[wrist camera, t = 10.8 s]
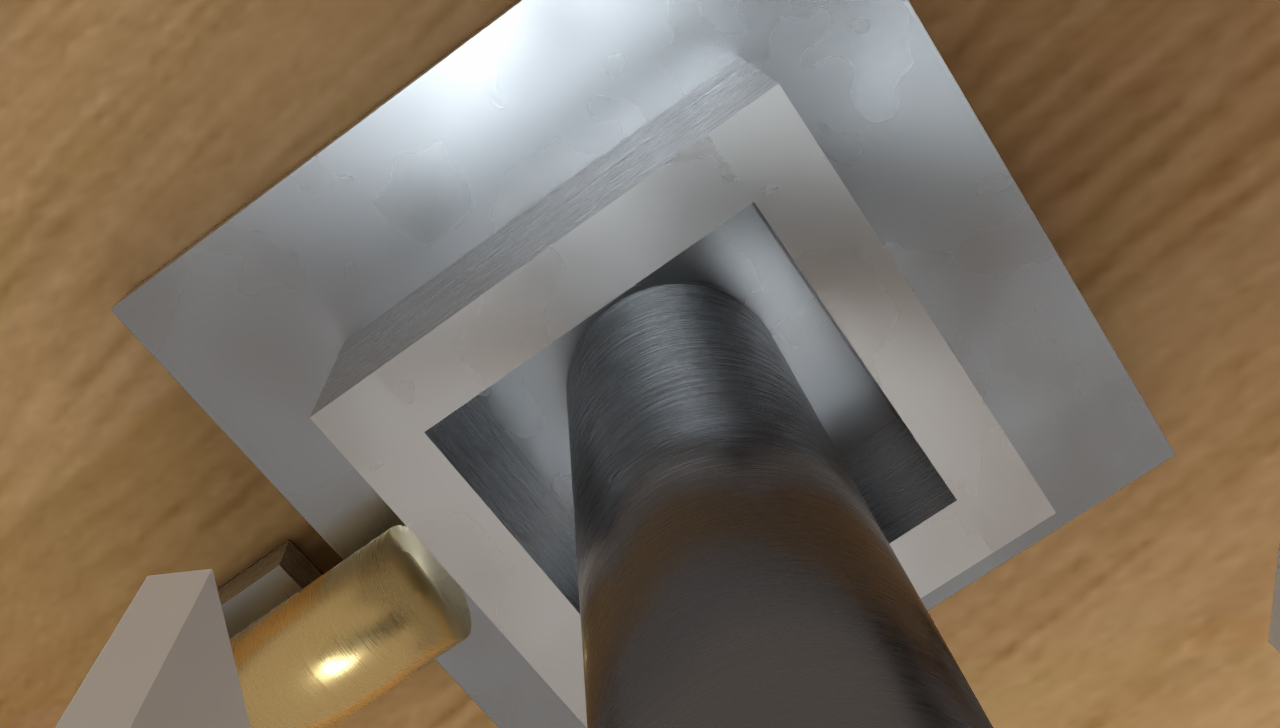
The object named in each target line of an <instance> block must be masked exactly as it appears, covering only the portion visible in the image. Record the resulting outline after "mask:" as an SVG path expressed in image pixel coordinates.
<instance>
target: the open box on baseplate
mask: <svg viewBox="0 0 1280 728" xmlns="http://www.w3.org/2000/svg"><path fill="white" fill-rule="evenodd" d="M668 284H689V285H699V286H703V287H708V288H712V289H715V290H717V291H720V292H723V293H725V294H727V295H729V296H731V297H733V298H735V299H737V300H738V301H740V302H741V303H743V304H744V305H746V306H747V307H748V308H750V309H751V310H752V311H753V312H754V313H755V314H756V315H757V316H758V317H759V318H760V319H761V321H762V322H763V323H764V324H765V326H766V327H767V328H768V330H769V331H770V333H771V335H772V336H773V338H774V340H775V342H776V343H777V345H778V347H779V349H780V350H781V352H782V354H783V356H784V358H785V359H786V361H787V363H788V365H789V366H790V368H791V370H792V372H793V374H794V375H795V377H796V379H797V381H798V382H799V384H800V386H801V388H802V390H803V391H804V393H805V395H806V397H807V398H808V400H809V402H810V404H811V405H812V407H813V409H814V411H815V413H816V414H817V416H818V418H819V420H820V421H821V423H822V425H823V427H824V429H825V430H826V432H827V434H828V436H829V437H830V439H831V441H832V443H833V445H834V446H835V448H836V450H837V452H838V453H839V455H840V457H841V459H842V461H843V462H844V464H845V466H846V468H847V469H848V471H849V473H850V475H851V476H852V478H853V480H854V482H855V484H856V485H857V487H858V489H859V491H860V492H861V494H862V496H863V498H864V500H865V501H866V503H867V505H868V507H869V508H870V510H871V512H872V514H873V516H874V517H875V519H876V521H877V523H878V524H879V526H880V528H881V530H882V531H883V533H884V535H885V537H886V539H887V540H888V542H889V544H890V546H891V547H892V549H893V551H894V553H895V555H896V556H897V558H898V560H899V562H900V563H901V565H902V567H903V569H904V571H905V572H906V574H907V576H908V578H909V579H910V581H911V583H912V585H913V586H914V588H915V590H916V592H917V594H918V595H919V597H920V599H921V601H922V602H923V604H924V606H925V608H926V610H927V611H928V610H929V609H931V608H932V607H934V606H936V605H937V604H939V603H940V602H942V601H944V600H945V599H947V598H948V597H950V596H951V595H953V594H955V593H956V592H958V591H959V590H961V589H963V588H964V587H966V586H967V585H969V584H971V583H972V582H974V581H975V580H977V579H979V578H980V577H982V576H983V575H985V574H986V573H988V572H990V571H991V570H993V569H994V568H996V567H998V566H999V565H1001V564H1002V563H1004V562H1006V561H1007V560H1009V559H1010V558H1012V557H1013V556H1015V555H1017V554H1018V553H1020V552H1021V551H1023V550H1025V549H1026V548H1028V547H1029V546H1031V545H1033V544H1034V543H1036V542H1037V541H1039V540H1040V539H1042V538H1044V537H1045V536H1047V535H1048V534H1050V533H1052V532H1053V531H1055V530H1056V529H1058V528H1060V527H1061V526H1063V525H1064V524H1066V523H1068V522H1069V521H1071V520H1072V519H1074V518H1075V517H1077V516H1079V515H1080V514H1082V513H1083V512H1085V511H1087V510H1088V509H1090V508H1091V507H1093V506H1095V505H1096V504H1098V503H1099V502H1101V501H1102V500H1104V499H1106V498H1107V497H1109V496H1110V495H1112V494H1114V493H1115V492H1117V491H1118V490H1120V489H1122V488H1123V487H1125V486H1126V485H1128V484H1129V483H1131V482H1133V481H1134V480H1136V479H1137V478H1139V477H1141V476H1142V475H1144V474H1145V473H1147V472H1149V471H1150V470H1152V469H1153V468H1155V467H1157V466H1158V465H1160V464H1161V463H1163V462H1164V461H1166V460H1168V459H1169V458H1171V457H1172V456H1174V455H1175V453H1174V451H1173V449H1172V448H1171V446H1170V444H1169V443H1168V441H1167V439H1166V438H1165V436H1164V434H1163V432H1162V431H1161V429H1160V427H1159V426H1158V424H1157V422H1156V421H1155V419H1154V417H1153V416H1152V414H1151V412H1150V410H1149V409H1148V407H1147V405H1146V404H1145V402H1144V400H1143V399H1142V397H1141V395H1140V393H1139V392H1138V390H1137V388H1136V387H1135V385H1134V383H1133V382H1132V380H1131V378H1130V376H1129V375H1128V373H1127V371H1126V370H1125V368H1124V366H1123V365H1122V363H1121V361H1120V359H1119V358H1118V356H1117V354H1116V353H1115V351H1114V349H1113V348H1112V346H1111V344H1110V342H1109V341H1108V339H1107V337H1106V336H1105V334H1104V332H1103V331H1102V329H1101V327H1100V325H1099V324H1098V322H1097V320H1096V319H1095V317H1094V315H1093V314H1092V312H1091V310H1090V308H1089V307H1088V305H1087V303H1086V302H1085V300H1084V298H1083V297H1082V295H1081V293H1080V291H1079V290H1078V288H1077V286H1076V285H1075V283H1074V281H1073V280H1072V278H1071V276H1070V274H1069V273H1068V271H1067V269H1066V268H1065V266H1064V264H1063V263H1062V261H1061V259H1060V257H1059V256H1058V254H1057V252H1056V251H1055V249H1054V247H1053V246H1052V244H1051V242H1050V240H1049V239H1048V237H1047V235H1046V234H1045V232H1044V230H1043V229H1042V227H1041V225H1040V223H1039V222H1038V220H1037V218H1036V217H1035V215H1034V213H1033V212H1032V210H1031V208H1030V206H1029V205H1028V203H1027V201H1026V200H1025V198H1024V196H1023V195H1022V193H1021V191H1020V190H1019V188H1018V186H1017V184H1016V183H1015V181H1014V179H1013V178H1012V176H1011V174H1010V173H1009V171H1008V169H1007V167H1006V166H1005V164H1004V162H1003V161H1002V159H1001V157H1000V156H999V154H998V152H997V150H996V149H995V147H994V145H993V144H992V142H991V140H990V139H989V137H988V135H987V133H986V132H985V130H984V128H983V127H982V125H981V123H980V122H979V120H978V118H977V116H976V115H975V113H974V111H973V110H972V108H971V106H970V105H969V103H968V101H967V99H966V98H965V96H964V94H963V93H962V91H961V89H960V88H959V86H958V84H957V82H956V81H955V79H954V77H953V76H952V74H951V72H950V71H949V69H948V67H947V65H946V64H945V62H944V60H943V59H942V57H941V55H940V54H939V52H938V50H937V48H936V47H935V45H934V43H933V42H932V40H931V38H930V37H929V35H928V33H927V31H926V30H925V28H924V26H923V25H922V23H921V21H920V20H919V18H918V16H917V14H916V13H915V11H914V9H913V8H912V6H911V4H910V3H909V1H908V0H518V1H517V2H515V3H514V4H513V5H511V6H510V7H509V8H507V9H506V10H505V11H503V12H502V13H501V14H499V15H498V16H497V17H495V18H494V19H493V20H491V21H490V22H489V23H487V24H486V25H485V26H483V27H482V28H481V29H479V30H478V31H477V32H475V33H474V34H473V35H471V36H470V37H469V38H467V39H466V40H465V41H463V42H462V43H461V44H459V45H458V46H457V47H455V48H454V49H453V50H451V51H450V52H449V53H447V54H446V55H445V56H443V57H442V58H441V59H439V60H438V61H437V62H435V63H434V64H433V65H431V66H430V67H429V68H427V69H426V70H425V71H423V72H422V73H421V74H419V75H418V76H417V77H415V78H414V79H413V80H411V81H410V82H409V83H407V84H406V85H405V86H403V87H402V88H401V89H399V90H398V91H397V92H395V93H394V94H393V95H391V96H390V97H389V98H387V99H386V100H385V101H383V102H382V103H381V104H379V105H378V106H377V107H375V108H374V109H373V110H371V111H370V112H369V113H367V114H366V115H365V116H363V117H362V118H361V119H359V120H358V121H357V122H355V123H354V124H353V125H351V126H350V127H349V128H347V129H346V130H345V131H343V132H342V133H341V134H339V135H338V136H337V137H335V138H334V139H333V140H331V141H330V142H329V143H327V144H326V145H325V146H323V147H322V148H321V149H319V150H318V151H317V152H315V153H314V154H313V155H311V156H310V157H309V158H307V159H306V160H305V161H303V162H302V163H301V164H299V165H298V166H297V167H295V168H294V169H293V170H291V171H290V172H289V173H287V174H286V175H285V176H283V177H282V178H281V179H279V180H278V181H277V182H275V183H274V184H273V185H271V186H270V187H269V188H267V189H266V190H265V191H263V192H262V193H261V194H259V195H258V196H257V197H255V198H254V199H253V200H251V201H250V202H249V203H247V204H246V205H245V206H243V207H242V208H241V209H239V210H238V211H237V212H235V213H234V214H233V215H231V216H230V217H229V218H227V219H226V220H225V221H223V222H222V223H221V224H219V225H218V226H217V227H215V228H214V229H213V230H211V231H210V232H209V233H207V234H206V235H205V236H203V237H202V238H201V239H199V240H198V241H197V242H195V243H194V244H193V245H191V246H190V247H189V248H187V249H186V250H185V251H183V252H182V253H181V254H179V255H178V256H177V257H175V258H174V259H173V260H171V261H170V262H169V263H167V264H166V265H165V266H163V267H162V268H161V269H159V270H158V271H157V272H155V273H154V274H153V275H151V276H150V277H149V278H147V279H146V280H145V281H143V282H142V283H141V284H139V285H138V286H137V287H135V288H134V289H133V290H131V291H130V292H129V293H128V294H127V295H125V296H124V297H123V298H122V299H121V300H120V301H119V302H118V303H117V304H116V305H115V306H113V307H112V308H111V309H110V310H111V311H112V312H113V313H114V314H115V315H116V316H117V317H118V318H119V319H120V320H121V321H122V323H123V324H124V325H125V326H126V327H127V328H128V329H129V330H130V331H131V332H132V333H133V334H134V335H135V337H136V338H137V339H138V340H139V341H140V342H141V343H142V344H143V345H144V346H145V347H146V348H147V349H148V351H149V352H150V353H151V354H152V355H153V356H154V357H155V358H156V359H157V360H158V361H159V362H160V363H161V365H162V366H163V367H164V368H165V369H166V370H167V371H168V372H169V373H170V374H171V375H172V376H173V377H174V379H175V380H176V381H177V382H178V383H179V384H180V385H181V386H182V387H183V388H184V389H185V390H186V391H187V393H188V394H189V395H190V396H191V397H192V398H193V399H194V400H195V401H196V402H197V403H198V404H199V405H200V407H201V408H202V409H203V410H204V411H205V412H206V413H207V414H208V415H209V416H210V417H211V418H212V419H213V421H214V422H215V423H216V424H217V425H218V426H219V427H220V428H221V429H222V430H223V431H224V432H225V433H226V435H227V436H228V437H229V438H230V439H231V440H232V441H233V442H234V443H235V444H236V445H237V446H238V447H239V448H240V450H241V451H242V452H243V453H244V454H245V455H246V456H247V457H248V458H249V459H250V460H251V461H252V462H253V464H254V465H255V466H256V467H257V468H258V469H259V470H260V471H261V472H262V473H263V474H264V475H265V476H266V478H267V479H268V480H269V481H270V482H271V483H272V484H273V485H274V486H275V487H276V488H277V489H278V490H279V492H280V493H281V494H282V495H283V496H284V497H285V498H286V499H287V500H288V501H289V502H290V503H291V504H292V506H293V507H294V508H295V509H296V510H297V511H298V512H299V513H300V514H301V515H302V516H303V517H304V518H305V520H306V521H307V522H308V523H309V524H310V525H311V526H312V527H313V528H314V529H315V530H316V531H317V532H318V534H319V535H320V536H321V537H322V538H323V539H324V540H325V541H326V542H327V543H328V544H329V545H330V546H331V548H332V549H333V550H334V551H335V552H336V553H337V554H338V555H339V556H340V557H341V558H342V559H343V561H342V562H340V563H339V564H338V565H336V566H335V567H333V568H332V569H330V570H329V571H327V572H326V573H324V574H323V575H322V574H321V573H320V572H319V570H318V569H317V568H316V567H315V566H314V565H313V564H312V563H311V562H310V561H309V560H308V559H307V558H306V557H305V556H304V555H303V553H302V552H301V551H300V550H299V549H298V548H297V547H296V546H295V545H294V544H293V543H292V542H291V541H290V540H288V541H287V542H285V543H284V544H282V545H281V546H280V547H278V548H277V549H275V550H274V551H272V552H271V553H270V554H268V555H267V556H265V557H264V558H262V559H261V560H260V561H258V562H257V563H255V564H254V565H252V566H251V567H249V568H248V569H247V570H245V571H244V572H242V573H241V574H239V575H238V576H237V577H235V578H234V579H232V580H231V581H229V582H228V583H227V584H225V585H224V586H222V587H221V588H219V589H218V594H219V598H220V603H221V607H222V611H223V615H224V619H225V623H226V627H227V631H228V636H229V640H230V644H231V648H232V652H233V656H234V660H235V665H236V669H237V673H238V677H239V681H240V685H241V689H242V694H243V698H244V702H245V706H246V710H247V714H248V718H249V722H250V727H251V728H333V727H334V726H336V725H337V724H339V723H340V722H342V721H343V720H345V719H346V718H348V717H349V716H351V715H352V714H354V713H355V712H357V711H358V710H360V709H361V708H363V707H364V706H366V705H367V704H369V703H370V702H372V701H373V700H375V699H376V698H378V697H379V696H381V695H382V694H384V693H385V692H387V691H388V690H390V689H391V688H393V687H394V686H396V685H397V684H399V683H400V682H402V681H403V680H405V679H406V678H408V677H409V676H411V675H412V674H414V673H415V672H417V671H418V670H420V669H421V668H423V667H424V666H426V665H427V664H429V663H430V662H432V661H433V660H435V659H436V661H437V662H438V663H439V664H440V665H441V666H442V667H443V668H444V669H445V670H446V671H447V672H448V673H449V675H450V676H451V677H452V678H453V679H454V680H455V681H456V682H457V683H458V684H459V685H460V686H461V687H462V689H463V690H464V691H465V692H466V693H467V694H468V695H469V696H470V697H471V698H472V699H473V700H474V701H475V703H476V704H477V705H478V706H479V707H480V708H481V709H482V710H483V711H484V712H485V713H486V714H487V715H488V716H489V718H490V719H491V720H492V721H493V722H494V723H495V724H496V725H497V726H498V727H499V728H587V714H586V698H585V682H584V666H583V651H582V635H581V619H580V603H579V587H578V571H577V555H576V539H575V523H574V507H573V491H572V475H571V459H570V443H569V427H568V411H567V391H566V386H567V376H568V371H569V367H570V362H571V359H572V357H573V354H574V352H575V349H576V347H577V345H578V343H579V342H580V340H581V338H582V336H583V335H584V333H585V332H586V331H587V329H588V328H589V327H590V325H591V324H592V323H593V322H594V321H595V320H596V319H597V318H598V317H599V316H600V315H601V314H602V313H603V312H604V311H606V310H607V309H608V308H609V307H611V306H612V305H613V304H615V303H617V302H618V301H620V300H622V299H623V298H625V297H627V296H629V295H632V294H634V293H636V292H638V291H641V290H645V289H648V288H651V287H656V286H662V285H668Z"/></svg>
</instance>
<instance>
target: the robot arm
mask: <svg viewBox="0 0 1280 728" xmlns="http://www.w3.org/2000/svg"><path fill="white" fill-rule="evenodd" d="M1269 642H1270V643H1271V644H1272V645H1273V646H1274V647H1275V648H1276V650H1277V651H1278V652H1279V653H1280V543H1279V552H1278V561H1277V570H1276V579H1275V588H1274V597H1273V606H1272V615H1271V624H1270V633H1269ZM55 728H251V727H250V722H249V718H248V714H247V710H246V706H245V702H244V698H243V694H242V689H241V685H240V681H239V677H238V673H237V669H236V665H235V660H234V656H233V652H232V648H231V644H230V640H229V636H228V631H227V627H226V623H225V619H224V615H223V611H222V607H221V603H220V598H219V594H218V590H217V586H216V582H215V578H214V574H213V569H205V570H196V571H187V572H178V573H169V574H160V575H150V576H147V577H146V579H145V581H144V582H143V584H142V586H141V587H140V589H139V590H138V592H137V594H136V595H135V597H134V599H133V600H132V602H131V604H130V605H129V607H128V608H127V610H126V612H125V613H124V615H123V617H122V618H121V620H120V622H119V623H118V625H117V627H116V628H115V630H114V631H113V633H112V635H111V636H110V638H109V640H108V641H107V643H106V645H105V646H104V648H103V650H102V651H101V653H100V654H99V656H98V658H97V659H96V661H95V663H94V664H93V666H92V668H91V669H90V671H89V673H88V674H87V676H86V677H85V679H84V681H83V682H82V684H81V686H80V687H79V689H78V691H77V692H76V694H75V695H74V697H73V699H72V700H71V702H70V704H69V705H68V707H67V709H66V710H65V712H64V714H63V715H62V717H61V718H60V720H59V722H58V723H57V725H56V727H55Z"/></svg>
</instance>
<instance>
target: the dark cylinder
mask: <svg viewBox="0 0 1280 728" xmlns="http://www.w3.org/2000/svg"><path fill="white" fill-rule="evenodd" d="M566 391H567V411H568V427H569V443H570V459H571V475H572V491H573V507H574V523H575V539H576V555H577V571H578V587H579V603H580V619H581V635H582V651H583V666H584V682H585V698H586V714H587V728H993V727H992V725H991V723H990V721H989V720H988V718H987V716H986V714H985V712H984V711H983V709H982V707H981V705H980V704H979V702H978V700H977V698H976V697H975V695H974V693H973V691H972V689H971V688H970V686H969V684H968V682H967V681H966V679H965V677H964V675H963V673H962V672H961V670H960V668H959V666H958V665H957V663H956V661H955V659H954V657H953V656H952V654H951V652H950V650H949V649H948V647H947V645H946V643H945V642H944V640H943V638H942V636H941V634H940V633H939V631H938V629H937V627H936V626H935V624H934V622H933V620H932V618H931V617H930V615H929V613H928V611H927V610H926V608H925V606H924V604H923V602H922V601H921V599H920V597H919V595H918V594H917V592H916V590H915V588H914V586H913V585H912V583H911V581H910V579H909V578H908V576H907V574H906V572H905V571H904V569H903V567H902V565H901V563H900V562H899V560H898V558H897V556H896V555H895V553H894V551H893V549H892V547H891V546H890V544H889V542H888V540H887V539H886V537H885V535H884V533H883V531H882V530H881V528H880V526H879V524H878V523H877V521H876V519H875V517H874V516H873V514H872V512H871V510H870V508H869V507H868V505H867V503H866V501H865V500H864V498H863V496H862V494H861V492H860V491H859V489H858V487H857V485H856V484H855V482H854V480H853V478H852V476H851V475H850V473H849V471H848V469H847V468H846V466H845V464H844V462H843V461H842V459H841V457H840V455H839V453H838V452H837V450H836V448H835V446H834V445H833V443H832V441H831V439H830V437H829V436H828V434H827V432H826V430H825V429H824V427H823V425H822V423H821V421H820V420H819V418H818V416H817V414H816V413H815V411H814V409H813V407H812V405H811V404H810V402H809V400H808V398H807V397H806V395H805V393H804V391H803V390H802V388H801V386H800V384H799V382H798V381H797V379H796V377H795V375H794V374H793V372H792V370H791V368H790V366H789V365H788V363H787V361H786V359H785V358H784V356H783V354H782V352H781V350H780V349H779V347H778V345H777V343H776V342H775V340H774V338H773V336H772V335H771V333H770V331H769V330H768V328H767V327H766V326H765V324H764V323H763V322H762V321H761V319H760V318H759V317H758V316H757V315H756V314H755V313H754V312H753V311H752V310H751V309H750V308H748V307H747V306H746V305H744V304H743V303H741V302H740V301H738V300H737V299H735V298H733V297H731V296H729V295H727V294H725V293H723V292H720V291H717V290H715V289H712V288H708V287H703V286H699V285H689V284H668V285H662V286H656V287H651V288H648V289H645V290H641V291H638V292H636V293H634V294H632V295H629V296H627V297H625V298H623V299H622V300H620V301H618V302H617V303H615V304H613V305H612V306H611V307H609V308H608V309H607V310H606V311H604V312H603V313H602V314H601V315H600V316H599V317H598V318H597V319H596V320H595V321H594V322H593V323H592V324H591V325H590V327H589V328H588V329H587V331H586V332H585V333H584V335H583V336H582V338H581V340H580V342H579V343H578V345H577V347H576V349H575V352H574V354H573V357H572V359H571V362H570V367H569V371H568V376H567V386H566Z"/></svg>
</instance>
